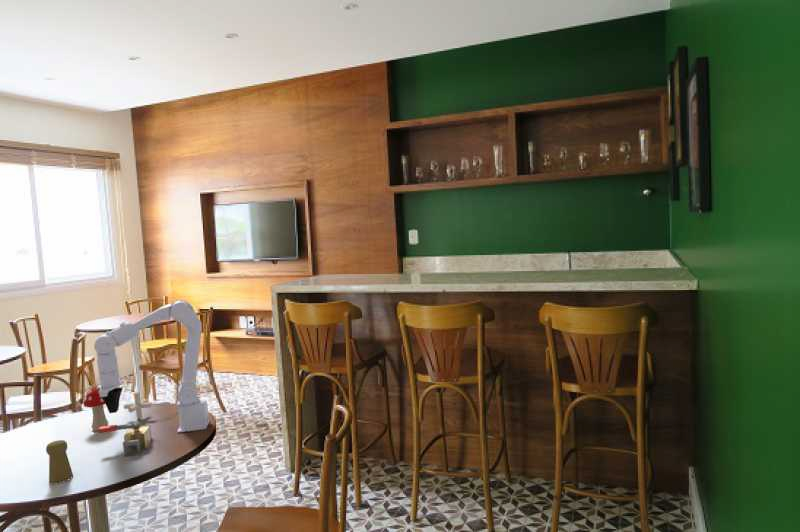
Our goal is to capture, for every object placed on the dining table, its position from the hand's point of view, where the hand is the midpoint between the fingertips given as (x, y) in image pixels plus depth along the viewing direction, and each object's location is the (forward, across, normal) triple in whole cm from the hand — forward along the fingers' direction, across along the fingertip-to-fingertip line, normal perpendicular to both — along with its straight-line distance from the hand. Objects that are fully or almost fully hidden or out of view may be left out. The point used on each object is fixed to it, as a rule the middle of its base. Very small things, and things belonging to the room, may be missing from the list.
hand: (113, 411), depth 188 cm
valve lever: (+4, +7, +4) cm, 9 cm away
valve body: (+10, +7, +8) cm, 15 cm away
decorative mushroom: (+11, -18, -12) cm, 24 cm away
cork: (+11, +25, -8) cm, 28 cm away
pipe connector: (+11, -23, 0) cm, 25 cm away
